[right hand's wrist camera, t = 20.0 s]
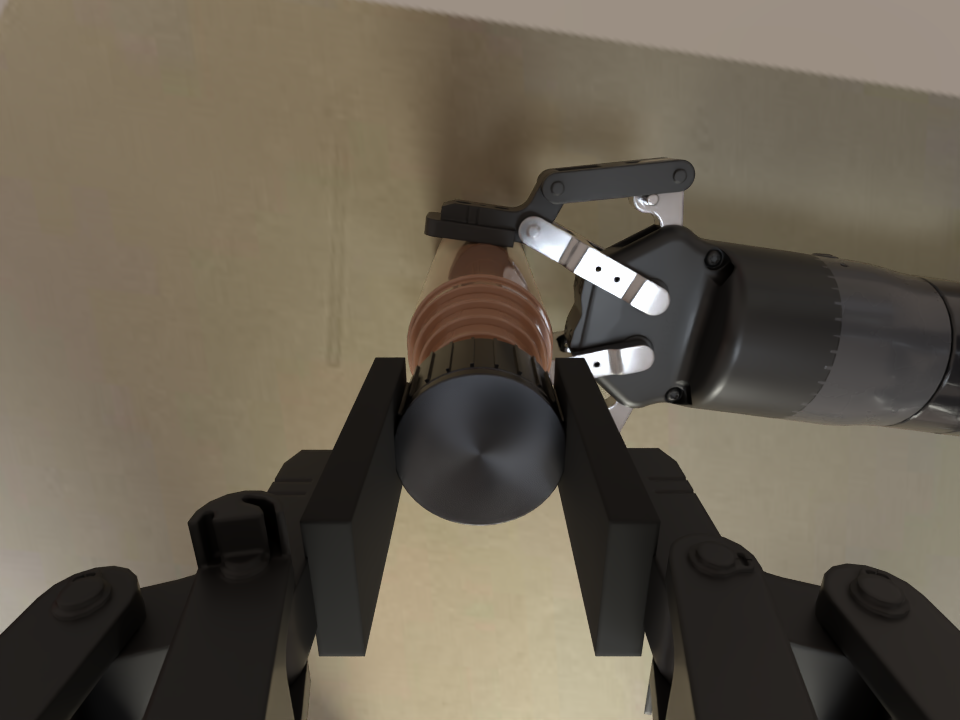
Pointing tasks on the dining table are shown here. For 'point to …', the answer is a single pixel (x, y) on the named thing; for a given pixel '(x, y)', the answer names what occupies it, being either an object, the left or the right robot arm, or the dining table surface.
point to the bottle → (479, 302)
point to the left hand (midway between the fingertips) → (421, 287)
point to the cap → (480, 433)
